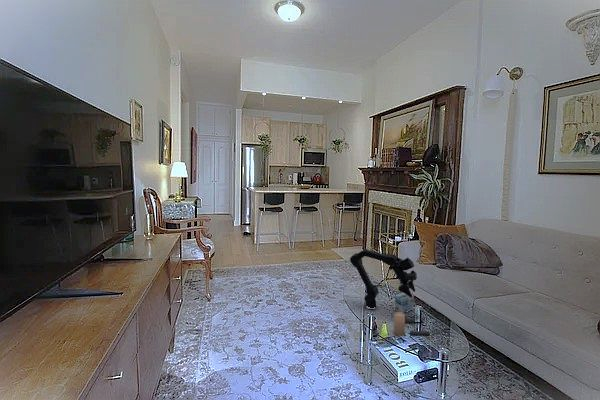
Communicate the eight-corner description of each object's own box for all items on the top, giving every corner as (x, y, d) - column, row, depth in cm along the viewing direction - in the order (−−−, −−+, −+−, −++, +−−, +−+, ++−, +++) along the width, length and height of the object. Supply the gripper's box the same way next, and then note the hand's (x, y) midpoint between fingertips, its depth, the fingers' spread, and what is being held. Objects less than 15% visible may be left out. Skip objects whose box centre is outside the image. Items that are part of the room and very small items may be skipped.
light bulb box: (402, 314, 215) (402, 299, 213) (394, 310, 221) (394, 295, 219) (413, 310, 220) (414, 295, 218) (406, 306, 225) (406, 291, 224)
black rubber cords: (410, 335, 191) (410, 332, 191) (404, 321, 206) (404, 318, 206) (430, 335, 190) (430, 332, 190) (422, 321, 205) (422, 318, 205)
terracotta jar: (395, 336, 192) (395, 317, 190) (393, 330, 198) (393, 311, 196) (405, 336, 191) (405, 317, 189) (403, 330, 197) (403, 311, 195)
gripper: (407, 273, 199) (422, 296, 197) (413, 263, 215) (427, 284, 213) (392, 280, 205) (406, 302, 203) (399, 269, 221) (412, 290, 219)
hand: (413, 294), depth 209 cm, fingers open, 9 cm apart
